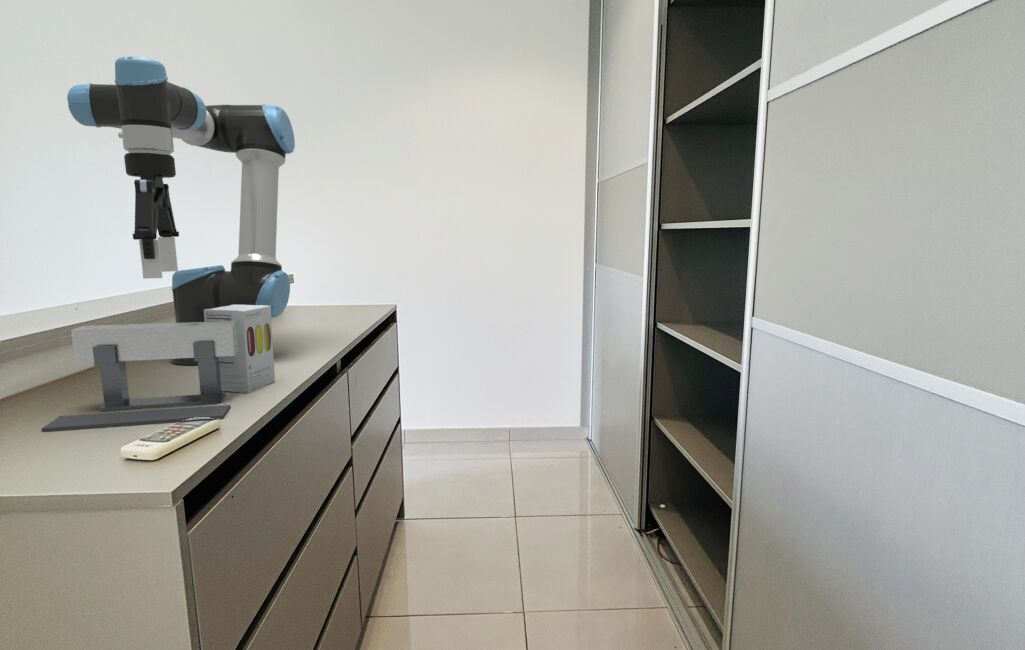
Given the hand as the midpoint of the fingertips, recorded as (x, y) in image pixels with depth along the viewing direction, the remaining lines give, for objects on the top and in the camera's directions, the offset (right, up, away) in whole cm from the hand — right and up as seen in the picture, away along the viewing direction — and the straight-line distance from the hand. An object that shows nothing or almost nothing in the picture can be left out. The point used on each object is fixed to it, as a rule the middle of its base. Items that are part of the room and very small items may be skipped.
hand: (161, 274), depth 106 cm
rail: (-2, -15, +3) cm, 16 cm away
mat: (-1, -25, -5) cm, 26 cm away
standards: (-2, -24, +4) cm, 24 cm away
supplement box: (+7, -22, +17) cm, 29 cm away
